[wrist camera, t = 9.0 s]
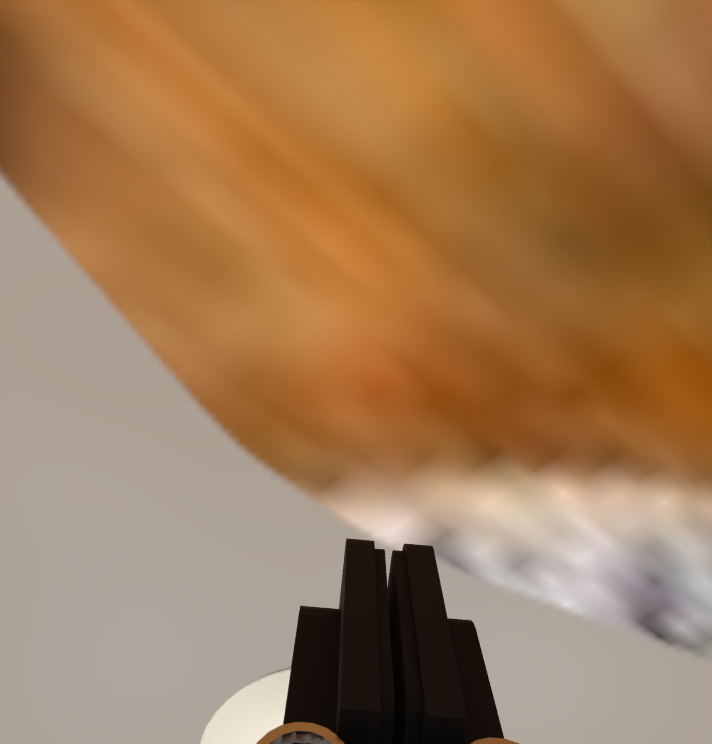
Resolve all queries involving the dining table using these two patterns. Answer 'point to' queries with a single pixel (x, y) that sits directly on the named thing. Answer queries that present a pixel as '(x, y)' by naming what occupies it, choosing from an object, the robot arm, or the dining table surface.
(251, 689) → the cream rounded object
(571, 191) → the dining table surface
